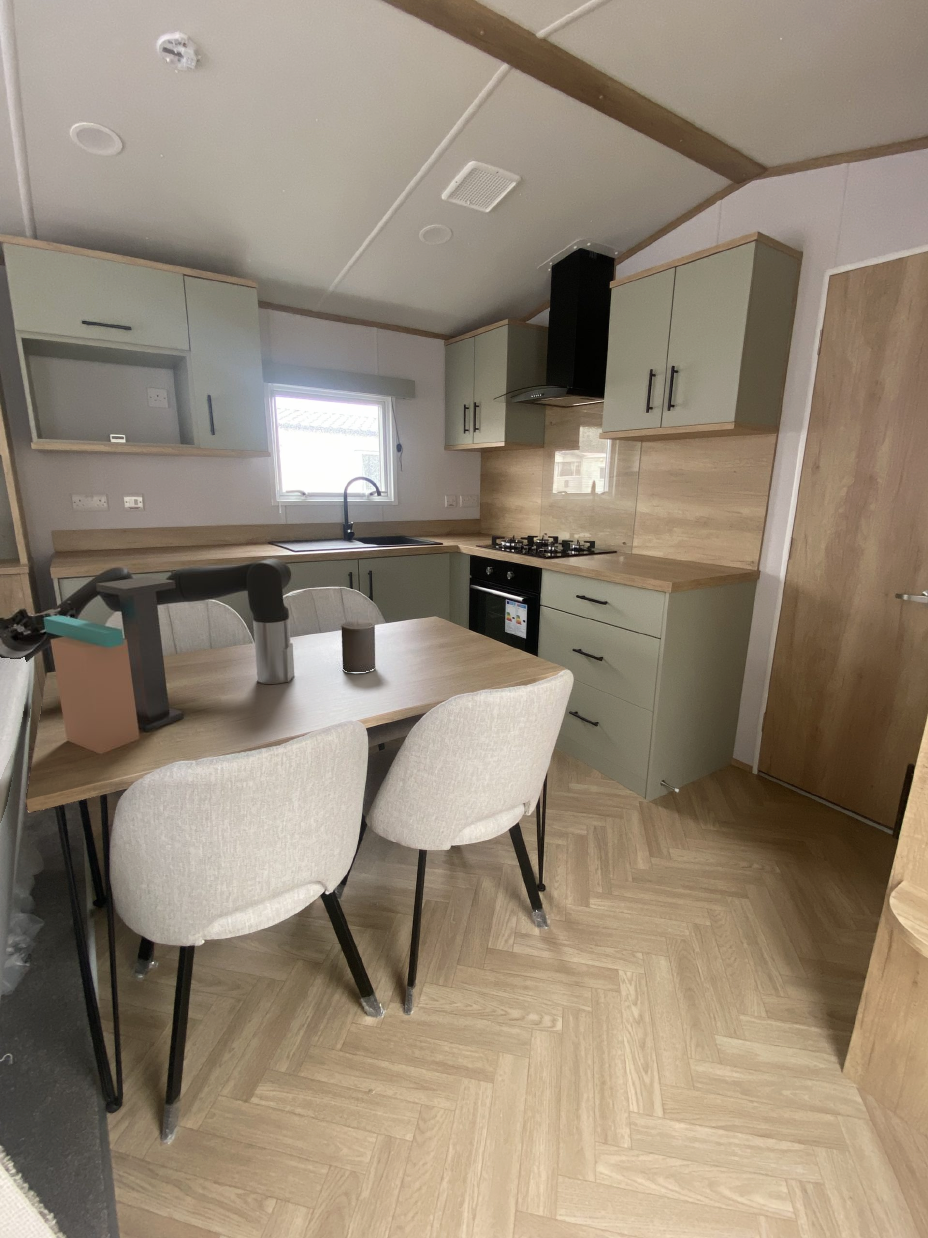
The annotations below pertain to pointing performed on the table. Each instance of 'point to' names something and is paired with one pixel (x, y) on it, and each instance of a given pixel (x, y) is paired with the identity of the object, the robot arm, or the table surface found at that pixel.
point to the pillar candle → (358, 646)
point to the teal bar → (84, 631)
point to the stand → (144, 648)
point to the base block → (95, 694)
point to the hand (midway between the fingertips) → (48, 608)
